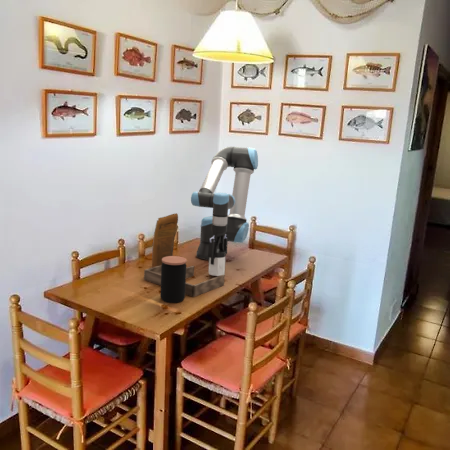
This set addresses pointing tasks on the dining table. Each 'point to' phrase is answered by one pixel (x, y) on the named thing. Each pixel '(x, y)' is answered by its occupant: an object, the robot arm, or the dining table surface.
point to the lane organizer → (191, 290)
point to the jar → (218, 264)
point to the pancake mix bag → (164, 238)
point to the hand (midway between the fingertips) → (216, 269)
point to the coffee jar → (173, 279)
